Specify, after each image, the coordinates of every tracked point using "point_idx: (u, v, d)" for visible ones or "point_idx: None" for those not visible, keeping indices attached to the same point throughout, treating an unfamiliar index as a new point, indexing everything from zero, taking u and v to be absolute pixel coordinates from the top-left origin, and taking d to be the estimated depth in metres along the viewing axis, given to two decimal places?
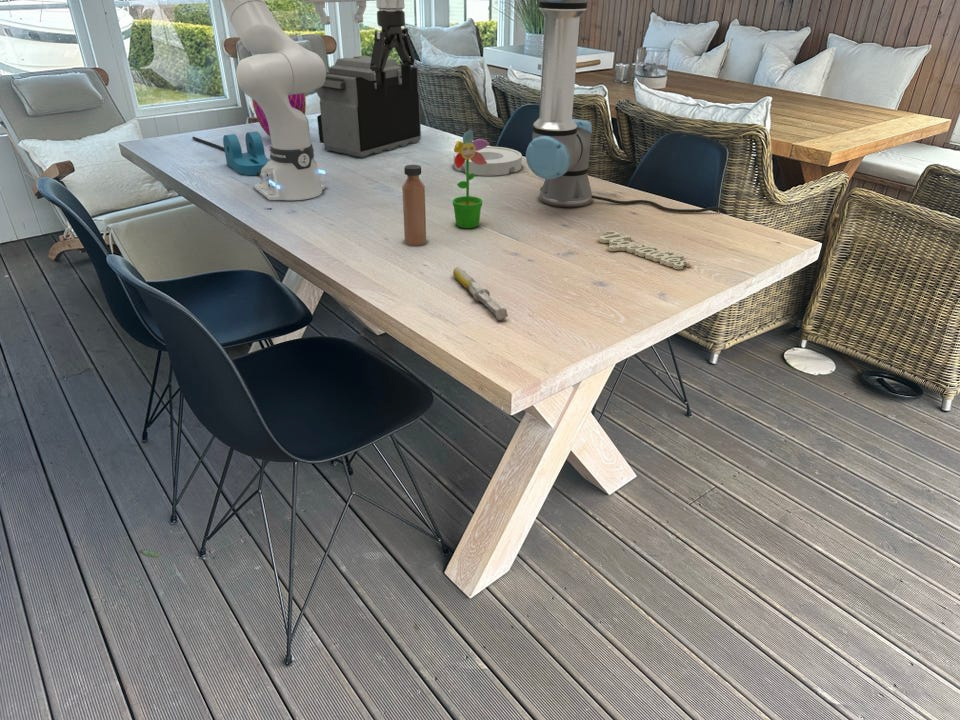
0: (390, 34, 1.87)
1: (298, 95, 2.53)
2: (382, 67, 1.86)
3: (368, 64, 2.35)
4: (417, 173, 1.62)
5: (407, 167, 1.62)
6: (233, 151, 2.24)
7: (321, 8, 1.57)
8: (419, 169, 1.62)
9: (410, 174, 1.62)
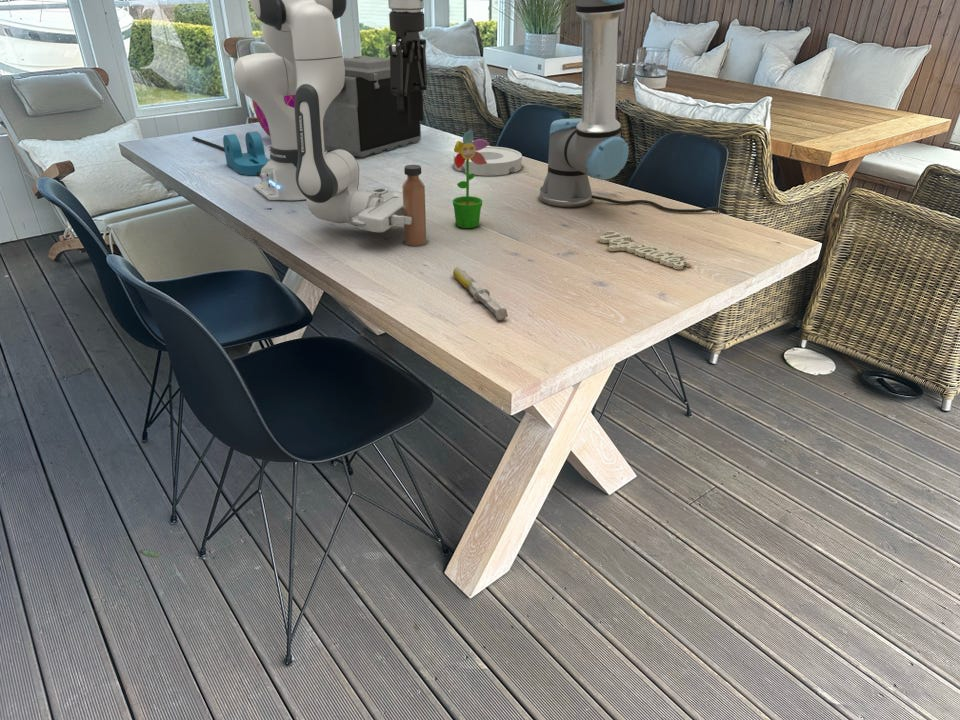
0: None
1: None
2: None
3: (368, 64, 2.35)
4: (417, 173, 1.62)
5: (407, 167, 1.62)
6: (233, 151, 2.24)
7: None
8: (419, 169, 1.62)
9: (410, 174, 1.62)
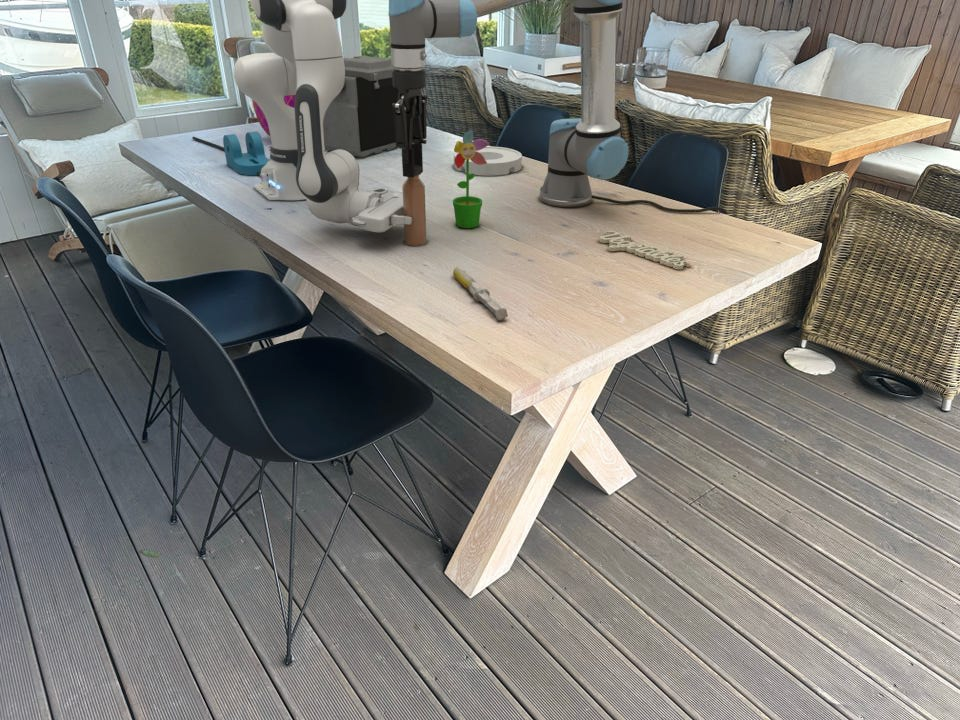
0: None
1: None
2: None
3: (368, 64, 2.35)
4: (417, 173, 1.62)
5: None
6: (233, 151, 2.24)
7: None
8: (419, 169, 1.62)
9: None
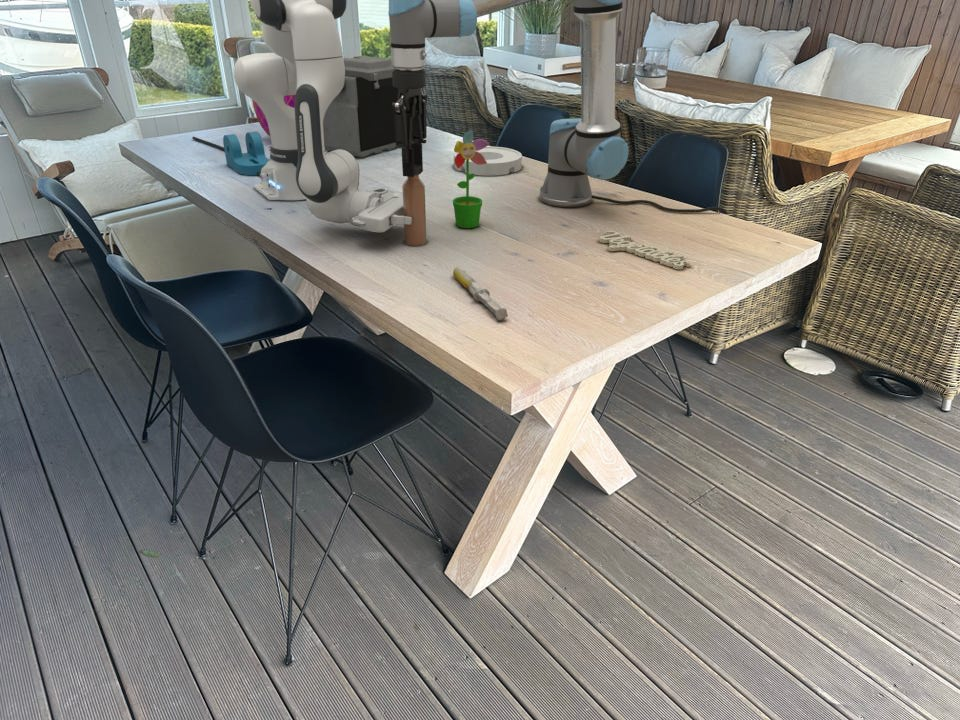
0: None
1: None
2: None
3: (368, 64, 2.35)
4: None
5: (417, 167, 1.62)
6: (233, 151, 2.24)
7: None
8: None
9: None
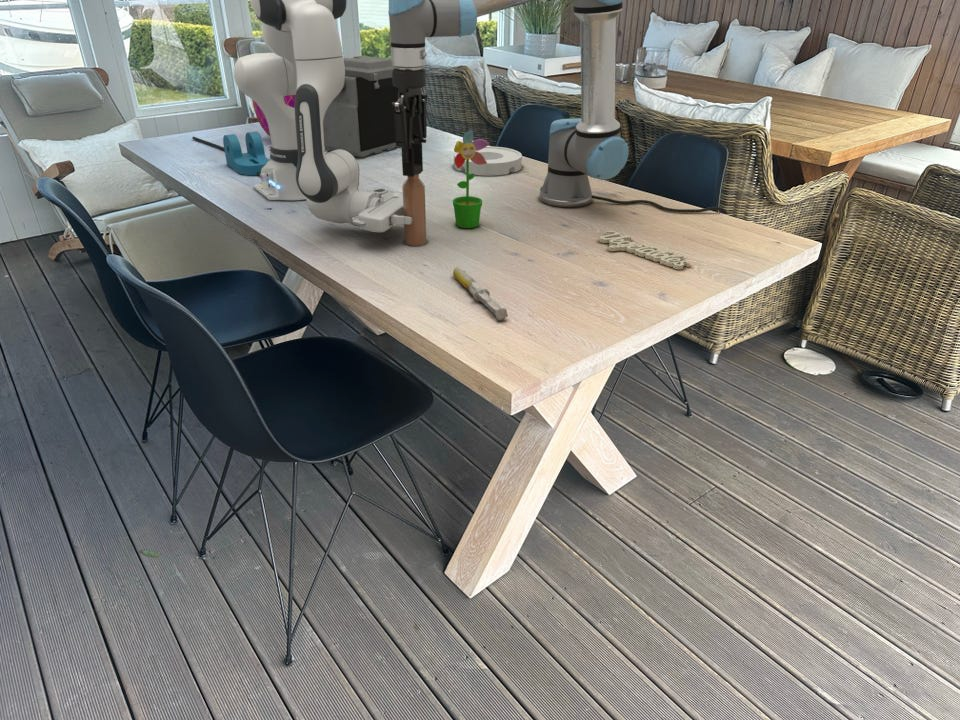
0: None
1: None
2: None
3: (368, 64, 2.35)
4: None
5: None
6: (233, 151, 2.24)
7: None
8: None
9: None
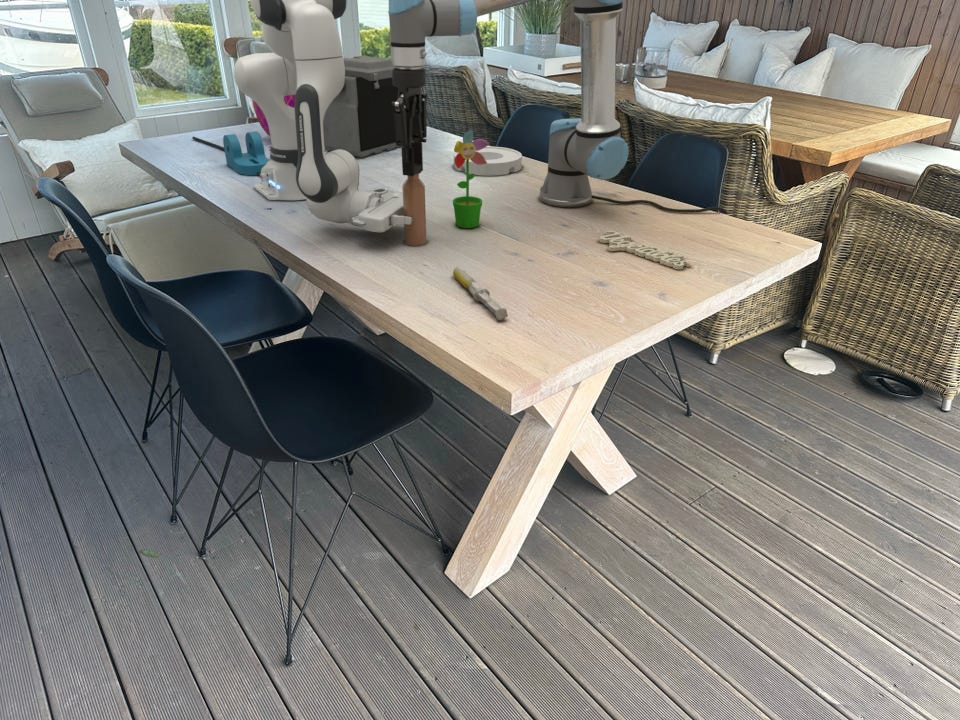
0: None
1: None
2: None
3: (368, 64, 2.35)
4: (417, 172, 1.62)
5: None
6: (233, 151, 2.24)
7: None
8: (419, 168, 1.62)
9: None
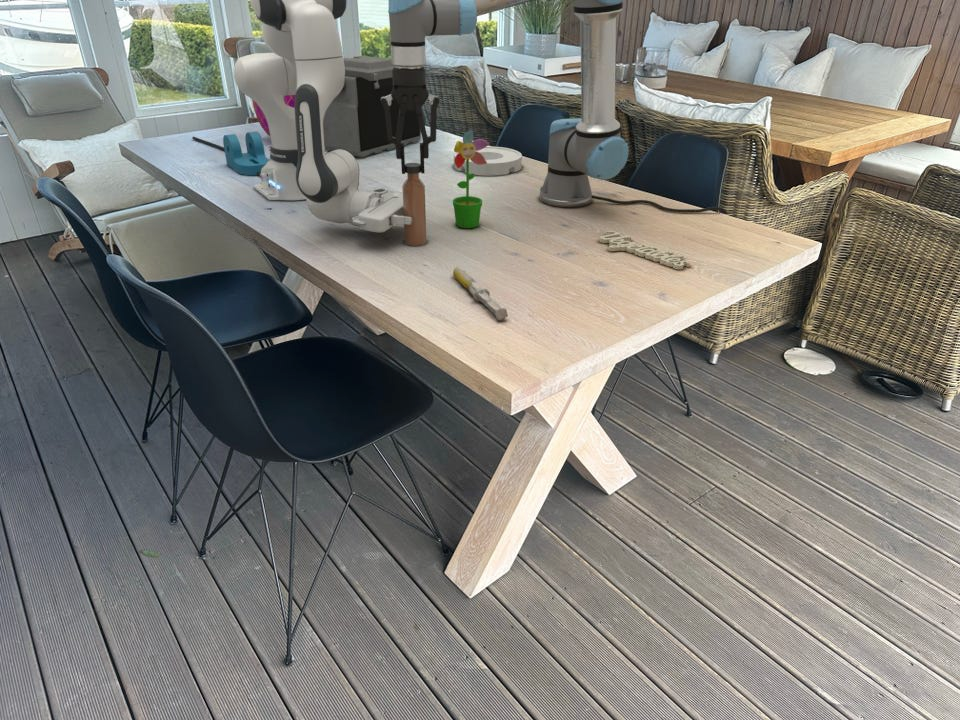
0: (398, 93, 1.53)
1: None
2: (397, 140, 1.58)
3: (368, 64, 2.35)
4: None
5: (417, 165, 1.62)
6: (233, 151, 2.24)
7: None
8: None
9: None
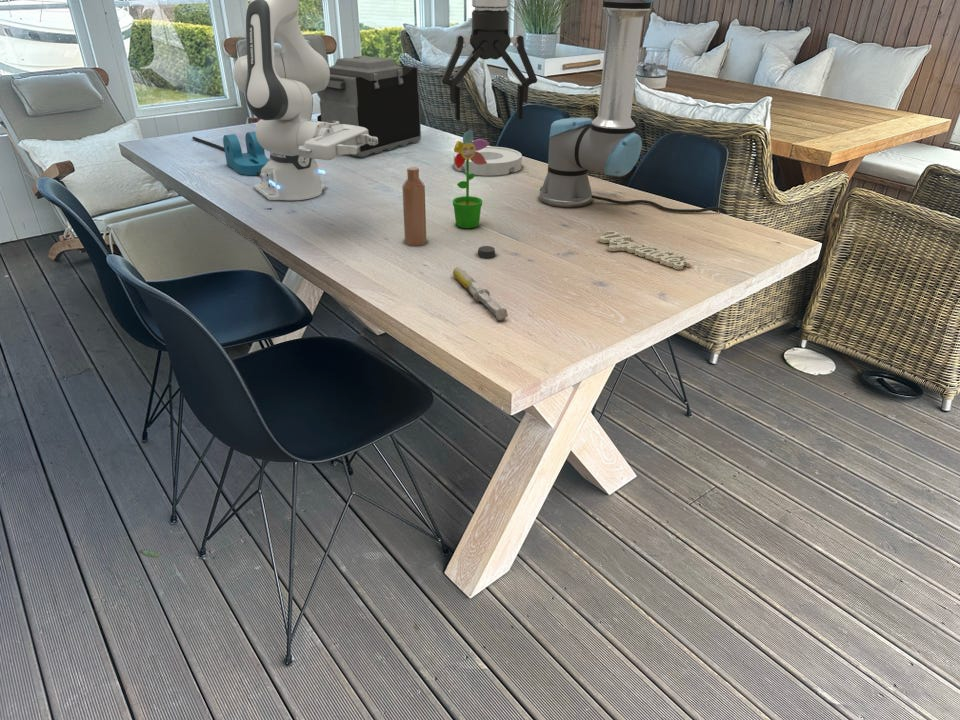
0: (478, 41, 1.40)
1: None
2: (454, 81, 1.43)
3: (368, 64, 2.35)
4: None
5: (491, 249, 1.64)
6: (233, 151, 2.24)
7: None
8: None
9: None
